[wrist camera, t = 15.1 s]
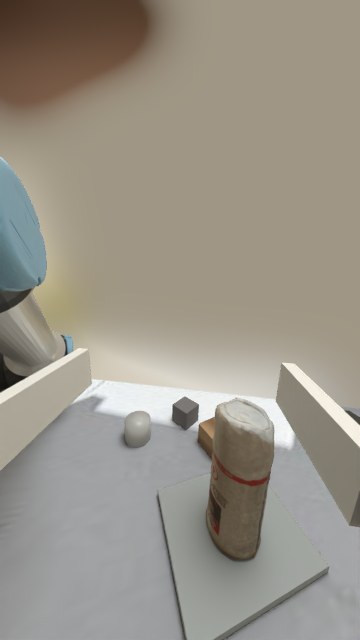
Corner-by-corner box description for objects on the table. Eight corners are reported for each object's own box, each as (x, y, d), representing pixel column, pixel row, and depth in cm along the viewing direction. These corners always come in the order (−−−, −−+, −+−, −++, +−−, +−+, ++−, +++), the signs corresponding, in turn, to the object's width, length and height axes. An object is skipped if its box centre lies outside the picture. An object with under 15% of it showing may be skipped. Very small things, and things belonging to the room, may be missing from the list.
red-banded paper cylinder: (208, 487, 35) (215, 388, 30) (256, 501, 33) (271, 397, 28) (202, 549, 27) (210, 428, 22) (265, 572, 25) (288, 444, 20)
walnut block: (214, 462, 41) (215, 442, 40) (197, 441, 46) (198, 423, 45) (234, 450, 44) (236, 431, 43) (217, 432, 49) (218, 415, 48)
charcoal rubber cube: (186, 430, 49) (186, 413, 48) (172, 420, 52) (172, 404, 51) (197, 420, 53) (198, 404, 52) (184, 411, 56) (184, 396, 55)
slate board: (189, 660, 20) (189, 653, 19) (157, 494, 34) (157, 489, 34) (327, 572, 26) (329, 565, 26) (250, 463, 41) (250, 459, 40)
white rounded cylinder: (126, 450, 43) (125, 431, 42) (124, 430, 49) (124, 413, 47) (152, 444, 45) (152, 425, 44) (148, 425, 50) (148, 409, 49)
